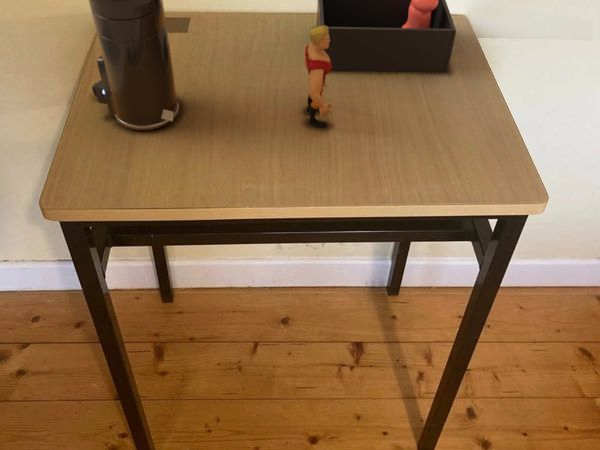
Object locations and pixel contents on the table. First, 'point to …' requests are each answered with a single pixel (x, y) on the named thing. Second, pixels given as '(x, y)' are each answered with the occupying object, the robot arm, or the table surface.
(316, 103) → the action figure
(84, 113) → the table surface
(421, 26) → the pink tall rounded piece
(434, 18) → the bin
